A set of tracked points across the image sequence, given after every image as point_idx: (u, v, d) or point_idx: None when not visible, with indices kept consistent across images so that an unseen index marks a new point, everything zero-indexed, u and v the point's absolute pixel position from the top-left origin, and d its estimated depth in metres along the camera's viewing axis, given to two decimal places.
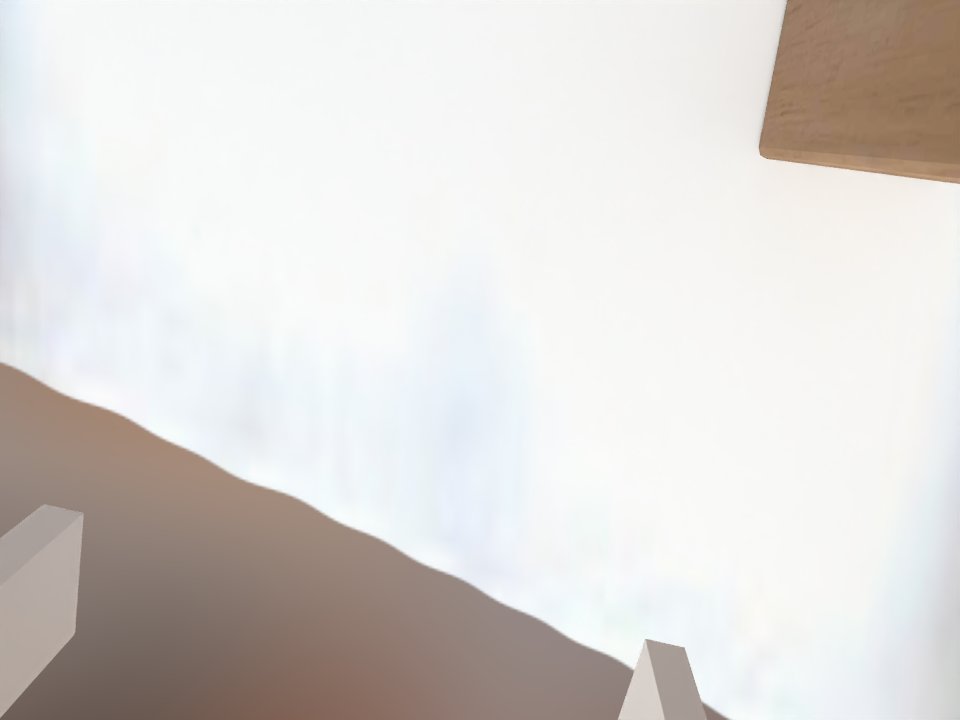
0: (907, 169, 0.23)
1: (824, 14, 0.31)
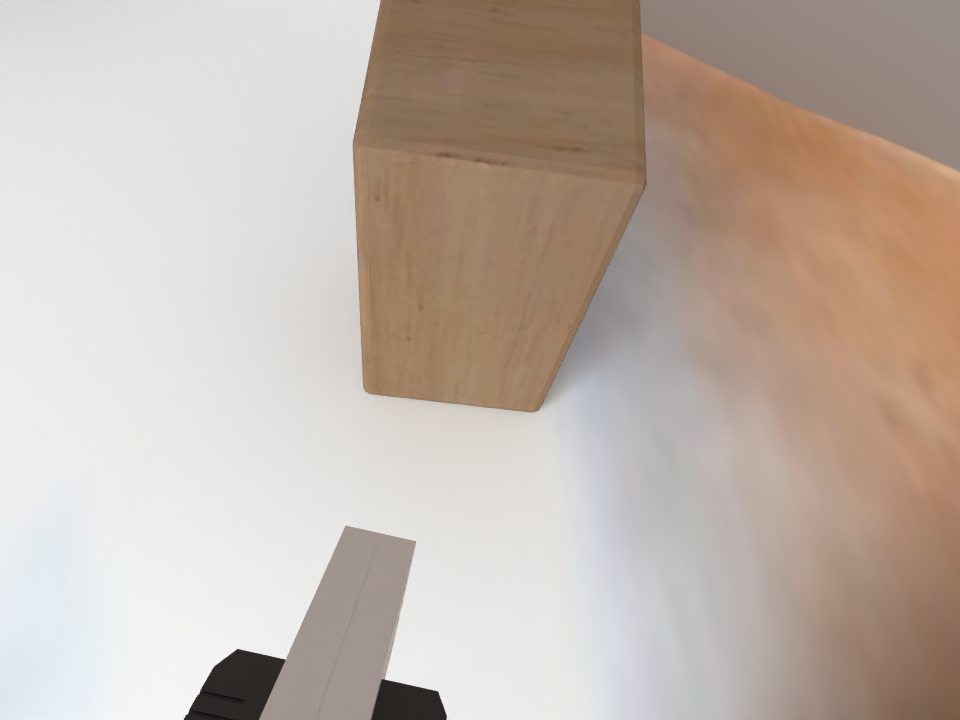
0: (357, 220, 0.29)
1: None
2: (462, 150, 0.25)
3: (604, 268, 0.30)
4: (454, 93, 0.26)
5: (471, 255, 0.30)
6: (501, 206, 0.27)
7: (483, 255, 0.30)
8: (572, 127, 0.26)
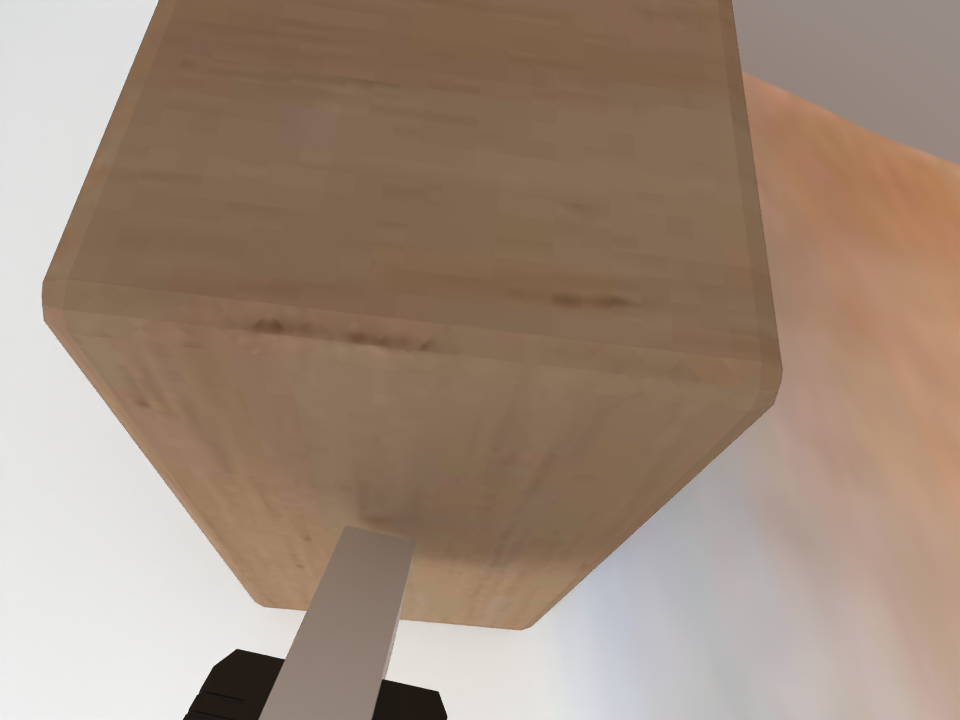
0: (128, 428, 0.13)
1: None
2: (320, 313, 0.10)
3: (658, 507, 0.15)
4: (313, 162, 0.11)
5: (382, 486, 0.14)
6: (430, 422, 0.11)
7: (407, 487, 0.14)
8: (599, 242, 0.11)
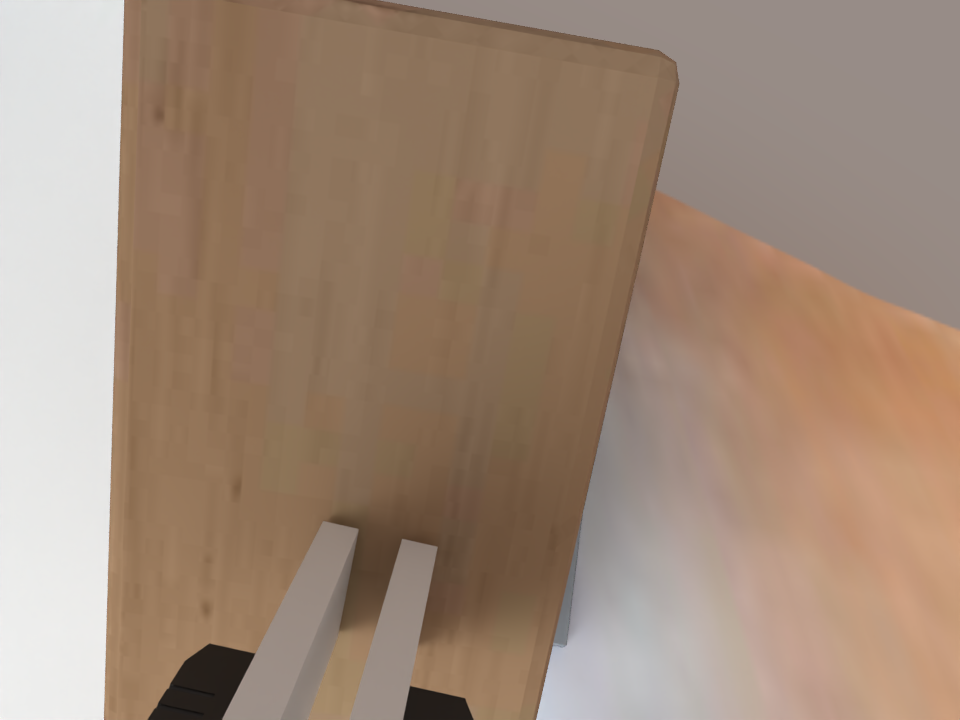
0: None
1: None
2: None
3: (616, 333, 0.15)
4: None
5: (345, 293, 0.14)
6: (405, 128, 0.14)
7: (369, 294, 0.14)
8: None
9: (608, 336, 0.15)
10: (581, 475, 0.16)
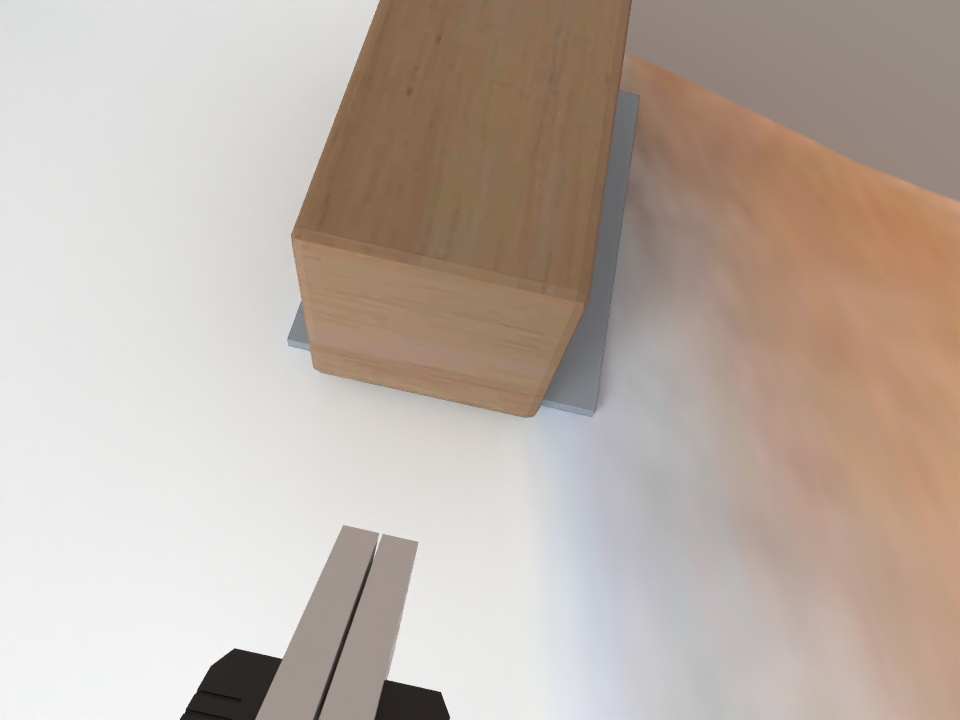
0: None
1: None
2: None
3: (626, 7, 0.31)
4: None
5: None
6: None
7: None
8: None
9: (623, 6, 0.31)
10: (618, 56, 0.30)
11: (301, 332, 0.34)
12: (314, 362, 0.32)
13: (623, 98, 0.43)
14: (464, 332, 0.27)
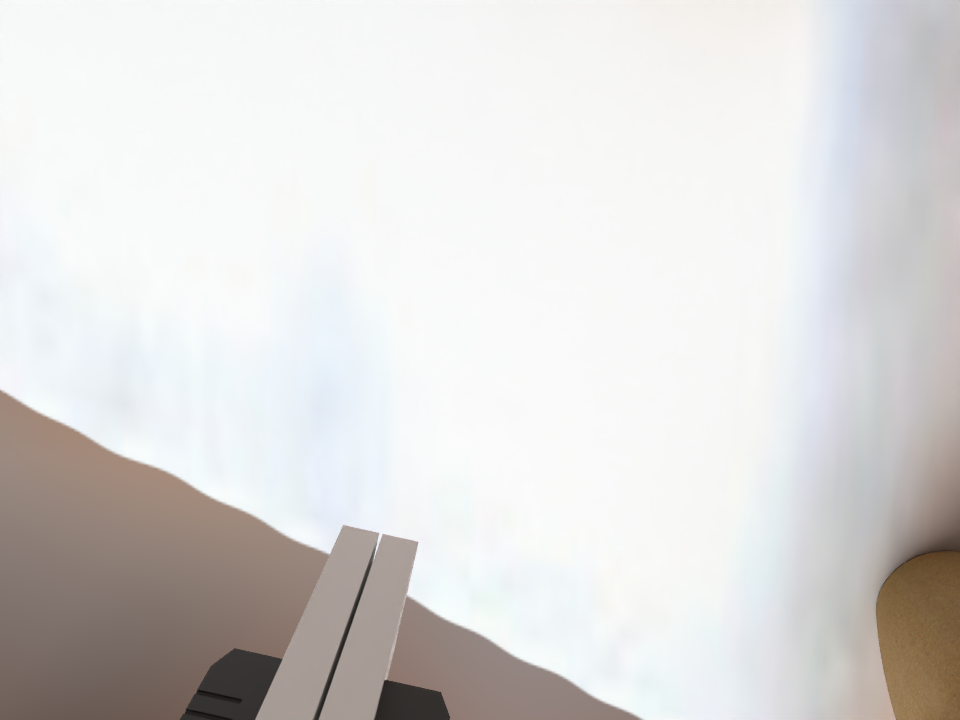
0: None
1: None
2: None
3: None
4: None
5: None
6: None
7: None
8: None
9: None
10: None
11: None
12: None
13: None
14: None
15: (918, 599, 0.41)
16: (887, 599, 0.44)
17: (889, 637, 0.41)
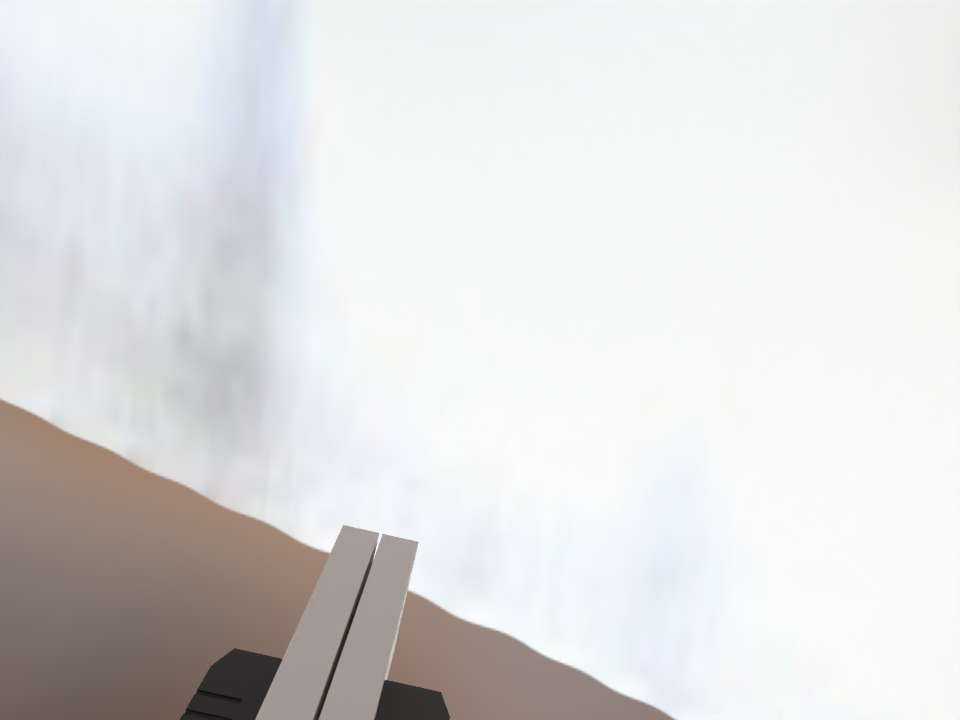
0: None
1: None
2: None
3: None
4: None
5: None
6: None
7: None
8: None
9: None
10: None
11: None
12: None
13: None
14: None
15: None
16: None
17: None
